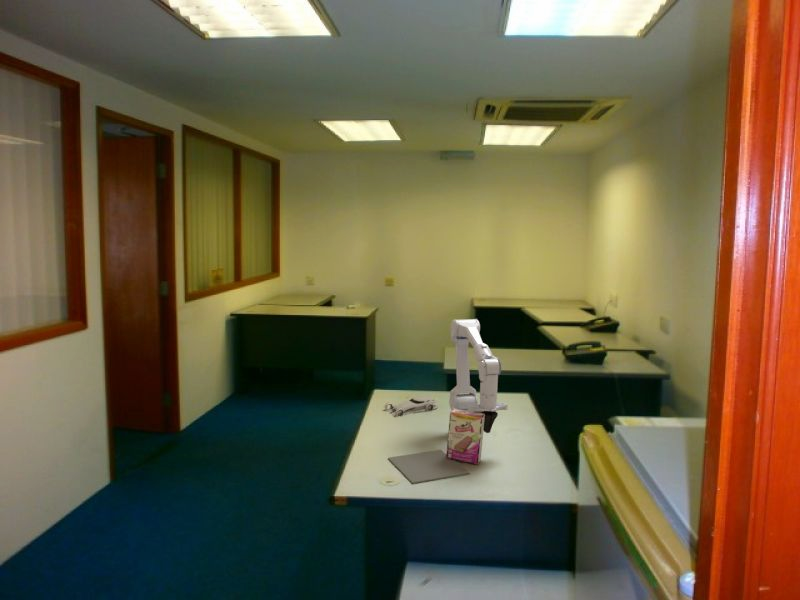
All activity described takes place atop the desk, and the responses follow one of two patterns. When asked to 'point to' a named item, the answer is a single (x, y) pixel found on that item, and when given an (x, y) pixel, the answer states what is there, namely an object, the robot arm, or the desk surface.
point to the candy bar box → (465, 436)
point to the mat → (427, 466)
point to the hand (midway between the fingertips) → (486, 432)
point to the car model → (412, 406)
